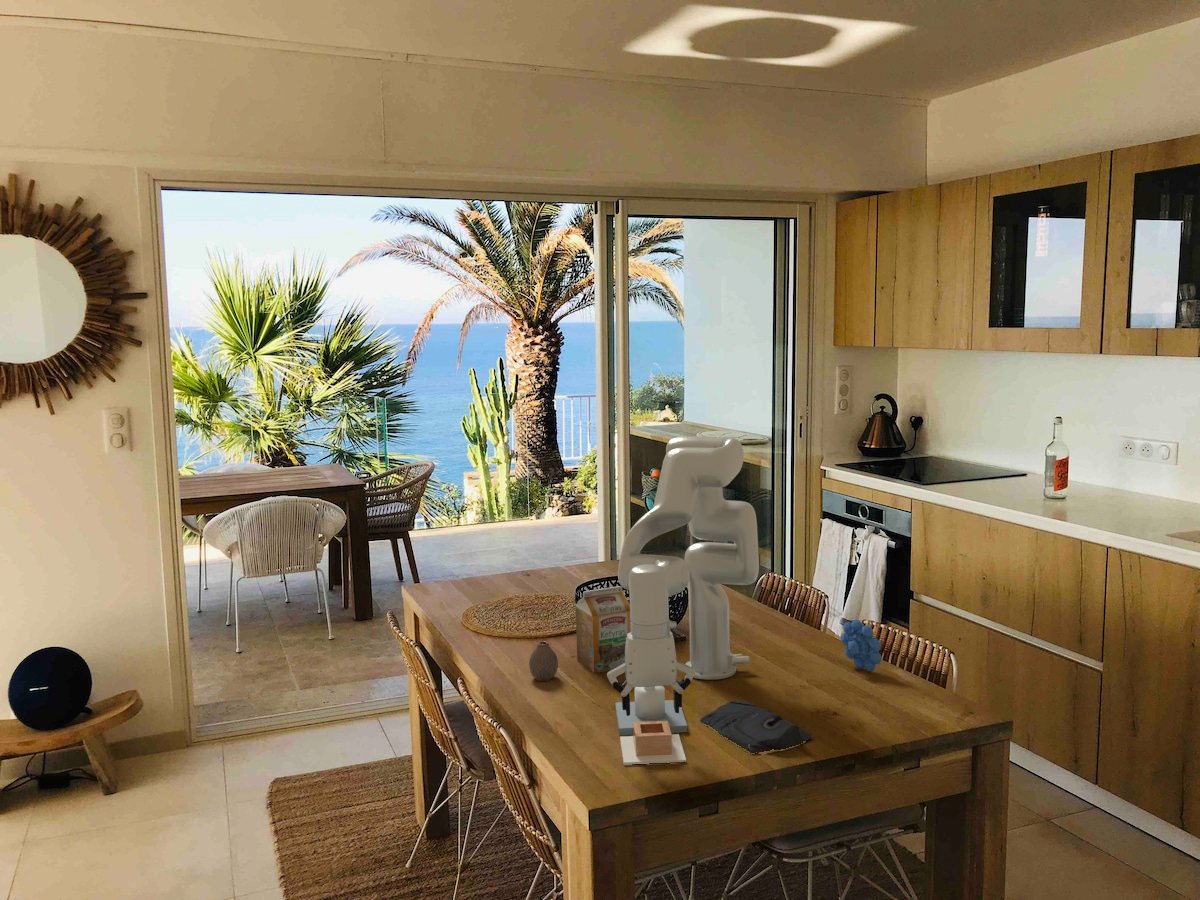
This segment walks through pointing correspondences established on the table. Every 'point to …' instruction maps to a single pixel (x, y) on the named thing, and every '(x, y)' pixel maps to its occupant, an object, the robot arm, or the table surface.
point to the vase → (543, 662)
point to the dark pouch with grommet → (754, 727)
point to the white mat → (631, 757)
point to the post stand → (650, 711)
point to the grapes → (861, 645)
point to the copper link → (652, 738)
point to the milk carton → (602, 628)
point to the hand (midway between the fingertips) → (652, 711)
